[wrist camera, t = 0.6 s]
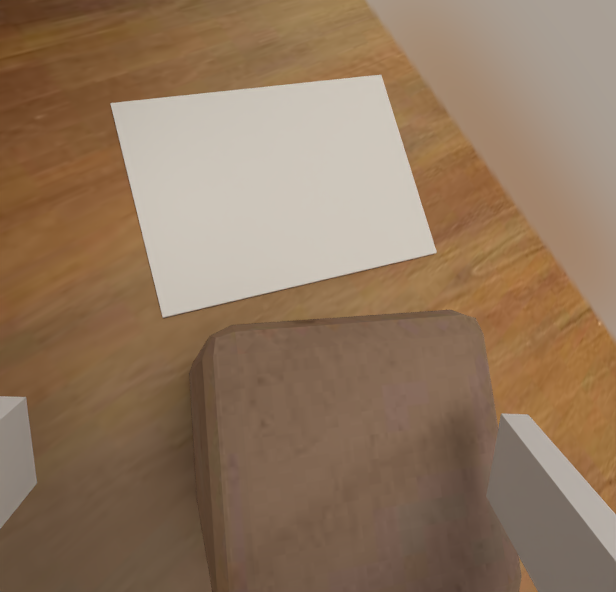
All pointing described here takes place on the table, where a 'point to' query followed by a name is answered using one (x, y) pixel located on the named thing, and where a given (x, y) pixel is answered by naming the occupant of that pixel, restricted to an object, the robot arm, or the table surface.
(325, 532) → the wooden block
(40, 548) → the table surface
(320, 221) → the white mat
